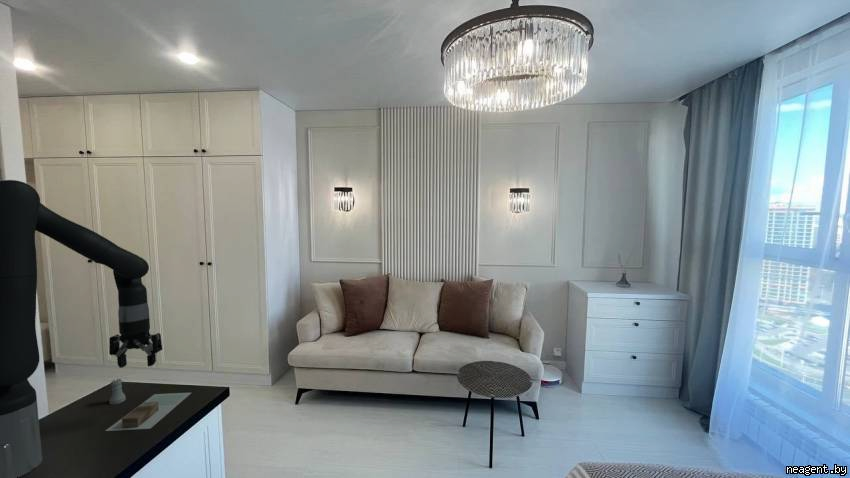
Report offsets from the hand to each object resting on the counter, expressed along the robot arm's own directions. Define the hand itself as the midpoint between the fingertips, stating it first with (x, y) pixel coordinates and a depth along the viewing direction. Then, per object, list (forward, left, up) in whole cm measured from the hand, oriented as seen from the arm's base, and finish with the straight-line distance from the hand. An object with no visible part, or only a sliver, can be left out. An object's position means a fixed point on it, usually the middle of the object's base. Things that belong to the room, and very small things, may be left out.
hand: (137, 366), depth 109 cm
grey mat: (+3, -2, -17) cm, 17 cm away
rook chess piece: (+10, +15, -17) cm, 25 cm away
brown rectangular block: (-2, -2, -17) cm, 17 cm away
